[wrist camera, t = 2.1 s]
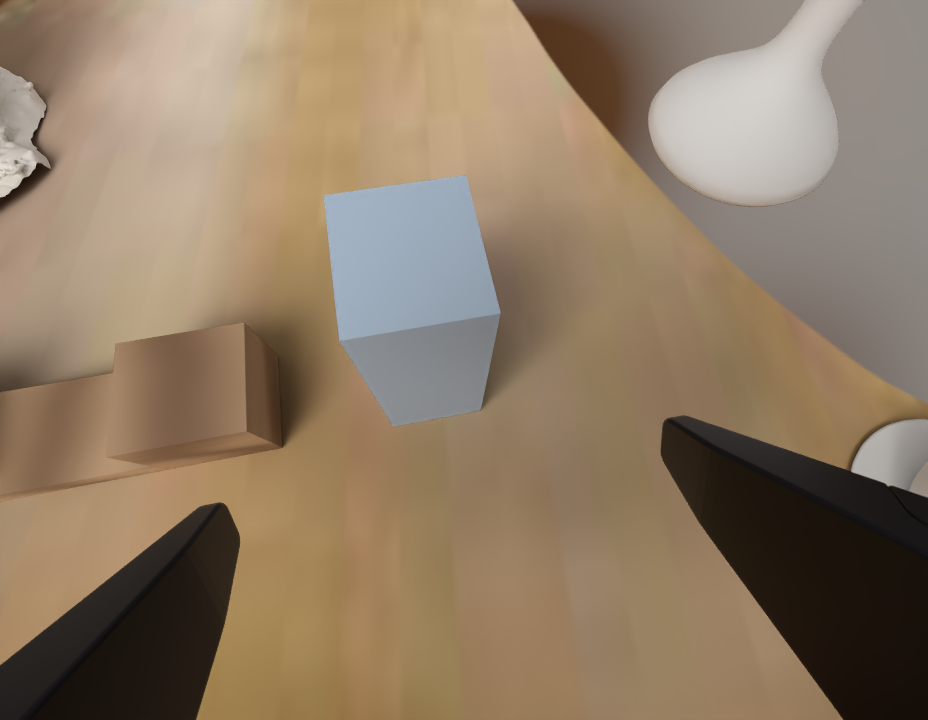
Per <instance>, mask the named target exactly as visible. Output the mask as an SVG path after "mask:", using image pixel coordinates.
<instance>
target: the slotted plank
mask: <svg viewBox="0 0 928 720" xmlns="http://www.w3.org/2000/svg"><path fill="white" fill-rule="evenodd" d="M279 448H283V444H282V425H281V406H280V386H279V367H278V355H277V354H276V353H275V352H274V351H273V350H272V349H271V348H270V347H269V346H268V345H267V344H266V343H265V342H264V341H263V340H262V339H261V338H260V337H259V336H257V335H256V334H255V333H254V332H253V331H252V330H251V329H250V328H249V327H248V326H247V325H246V324H245V323H238V324H232V325H226V326H220V327H214V328H208V329H202V330H196V331H190V332H183V333H177V334H171V335H165V336H159V337H153V338H147V339H141V340H135V341H129V342H123V343H117V344H115V355H114V366H113V373H110V374H104V375H98V376H92V377H86V378H81V379H75V380H69V381H63V382H57V383H51V384H45V385H39V386H33V387H28V388H22V389H16V390H10V391H4V392H0V501H4V500H9V499H14V498H20V497H25V496H30V495H36V494H41V493H46V492H51V491H57V490H62V489H67V488H73V487H78V486H83V485H88V484H94V483H99V482H104V481H110V480H115V479H120V478H125V477H131V476H136V475H141V474H147V473H152V472H157V471H162V470H168V469H173V468H178V467H184V466H189V465H194V464H199V463H205V462H210V461H215V460H221V459H226V458H231V457H236V456H242V455H247V454H252V453H258V452H263V451H268V450H273V449H279Z"/></svg>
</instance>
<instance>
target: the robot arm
mask: <svg viewBox="0 0 928 720" xmlns="http://www.w3.org/2000/svg"><path fill="white" fill-rule="evenodd" d="M661 456H662V459H663V462H664V464H665V465H666V467H667V469H668V471H669V472H670V474H671V476H672V477H673V479H674V481H675V482H676V484H677V486H678V488H679V489H680V491H681V493H682V494H683V496H684V498H685V500H686V501H687V503H688V505H689V506H690V508H691V510H692V511H693V513H694V515H695V516H696V518H697V520H698V521H699V523H700V524H701V526H702V527H703V529H704V530H705V531H706V533H707V534H708V536H709V537H710V538H711V540H712V541H713V542H714V544H715V545H716V547H717V548H718V549H719V551H720V552H721V553H722V555H723V556H724V557H725V559H726V560H727V562H728V563H729V564H730V566H731V567H732V568H733V570H734V571H735V572H736V574H737V575H738V577H739V578H740V579H741V581H742V582H743V583H744V585H745V586H746V587H747V589H748V590H749V592H750V593H751V594H752V596H753V597H754V598H755V600H756V601H757V602H758V604H759V605H760V607H761V608H762V609H763V611H764V612H765V613H766V615H767V616H768V617H769V619H770V620H771V622H772V623H773V624H774V626H775V627H776V628H777V630H778V631H779V632H780V634H781V635H782V637H783V638H784V639H785V641H786V642H787V643H788V645H789V646H790V647H791V649H792V650H793V652H794V653H795V654H796V656H797V657H798V658H799V660H800V661H801V662H802V664H803V665H804V667H805V668H806V669H807V671H808V672H809V673H810V675H811V676H812V677H813V679H814V680H815V682H816V683H817V684H818V686H819V687H820V688H821V690H822V691H823V692H824V694H825V695H826V697H827V698H828V699H829V701H830V702H831V703H832V705H833V706H834V707H835V709H836V710H837V712H838V713H839V714H840V716H841V717H842V718H843V720H928V497H925V496H922V495H919V494H916V493H913V492H910V491H907V490H904V489H901V488H898V487H895V486H892V485H890V486H887V484H885V483H883V482H880V481H877V480H874V479H871V478H868V477H866V476H863V475H860V474H857V473H854V472H851V471H848V470H845V469H842V468H839V467H836V466H833V465H830V464H827V463H824V462H821V461H818V460H815V459H812V458H809V457H806V456H804V455H801V454H798V453H795V452H792V451H789V450H786V449H783V448H780V447H777V446H774V445H771V444H768V443H765V442H762V441H759V440H756V439H753V438H750V437H748V436H745V435H742V434H739V433H736V432H733V431H730V430H727V429H724V428H721V427H718V426H715V425H712V424H709V423H706V422H703V421H700V420H697V419H694V418H692V417H689V416H685V415H682V416H676V417H671V418H667V419H666V420H665V421H664V422H663V427H662V439H661ZM239 548H240V536H239V532H238V530H237V527H236V525H235V523H234V521H233V519H232V516H231V514H230V512H229V510H228V508H227V506H226V505H225V504H224V503H214V504H209V505H204V506H201V507H199V508H197V509H196V510H195V511H193V512H192V513H191V514H190V515H188V516H187V517H186V518H185V519H183V520H182V521H181V522H180V523H178V524H177V525H176V526H175V527H173V528H172V529H171V530H170V531H168V532H167V533H166V534H165V535H163V536H162V537H161V538H160V539H158V540H157V541H156V542H155V543H153V544H152V545H151V546H149V547H148V548H147V549H146V550H144V551H143V552H142V553H141V554H139V555H138V556H137V557H136V558H134V559H133V560H132V561H131V562H129V563H128V564H127V565H126V566H124V567H123V568H122V569H121V570H119V571H118V572H117V573H116V574H114V575H113V576H112V577H111V578H109V579H108V580H107V581H106V582H104V583H103V584H102V585H100V586H99V587H98V588H97V589H95V590H94V591H93V592H92V593H90V594H89V595H88V596H87V597H85V598H84V599H83V600H82V601H80V602H79V603H78V604H77V605H75V606H74V607H73V608H72V609H70V610H69V611H68V612H67V613H65V614H64V615H63V616H62V617H60V618H59V619H58V620H57V621H55V622H54V623H53V624H51V625H50V626H49V627H48V628H46V629H45V630H44V631H43V632H41V633H40V634H39V635H38V636H36V637H35V638H34V639H33V640H31V641H30V642H29V643H28V644H26V645H25V646H24V647H23V648H21V649H20V650H19V651H18V652H16V653H15V654H14V655H13V656H11V657H10V658H9V659H8V660H6V661H5V662H4V663H2V664H1V665H0V720H196V718H197V715H198V711H199V708H200V705H201V702H202V698H203V695H204V692H205V688H206V685H207V682H208V678H209V675H210V672H211V668H212V665H213V662H214V658H215V655H216V652H217V648H218V645H219V642H220V639H221V635H222V631H223V628H224V624H225V620H226V615H227V611H228V606H229V600H230V595H231V590H232V584H233V579H234V574H235V569H236V563H237V558H238V553H239Z"/></svg>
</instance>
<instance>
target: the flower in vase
mask: <svg viewBox="0 0 928 720" xmlns="http://www.w3.org/2000/svg"><path fill="white" fill-rule="evenodd" d="M863 1H864V0H805V1H804V2H803V4H802V5H801V6H800V8H799V9H798V11H797V12H796V14H795V15H794V16H793V18H792V19H791V20H790V22H789V23H788V24H787V25H786V26H785V28H784V29H783V30H782V31H781V32H780V33H779V34H778V35H777V36H776V37H775V38H773V39H772V40H771V41H770V42H768V43H766V44H764V45H762V46H760V47H757V48H752V49H748V50H743V51H737V52H733V53H728V54H724V55H719V56H715V57H711V58H708V59H705V60H703V61H700V62H698V63H696V64H693V65H691V66H689V67H687V68H684V69H683V70H681V71H680V72H678V73H677V74H675V75H674V76H673V77H672V78H671V79H670V80H669V81H668V82H667V83H666V84H665V85H664V86H663V87H662V88H661V89H660V90H659V91H658V92H657V94H656V95H655V97H654V99H653V101H652V102H651V105H650V109H649V115H648V125H649V131H650V136H651V140H652V144H653V147H654V149H655V151H656V153H657V155H658V157H659V158H660V160H661V162H662V163H663V164H664V165H665V167H666V168H667V169H668V170H669V171H670V172H671V173H672V174H673V175H674V176H675V177H676V178H677V179H678V180H680V181H681V182H682V183H683V184H685V185H686V186H688V187H690V188H691V189H693V190H695V191H696V192H698V193H700V194H702V195H704V196H706V197H709V198H711V199H714V200H717V201H720V202H724V203H727V204H732V205H738V206H748V207H763V206H771V205H777V204H782V203H786V202H789V201H793V200H796V199H799V198H801V197H803V196H806V195H807V194H809V193H810V192H812V191H814V190H815V189H816V188H817V187H818V186H819V185H821V183H822V182H823V181H824V179H825V178H826V177H827V175H828V173H829V171H830V169H831V167H832V165H833V163H834V160H835V159H836V155H837V152H838V148H839V136H838V126H837V118H836V114H835V111H834V108H833V105H832V102H831V99H830V96H829V94H828V91H827V89H826V87H825V84H824V82H823V78H822V69H821V68H822V63H823V60H824V57H825V54H826V53H827V51H828V49H829V47H830V46H831V43H832V42H833V41H834V39H835V38H836V36H837V35H838V33H839V32H840V31H841V29H842V28H843V27H844V25H845V24H846V23H847V21H848V20H849V19H850V17H851V16H852V14H854V12H855V11H856V10H857V9H858V8H859V6H860V5H861V4H862V2H863Z"/></svg>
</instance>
